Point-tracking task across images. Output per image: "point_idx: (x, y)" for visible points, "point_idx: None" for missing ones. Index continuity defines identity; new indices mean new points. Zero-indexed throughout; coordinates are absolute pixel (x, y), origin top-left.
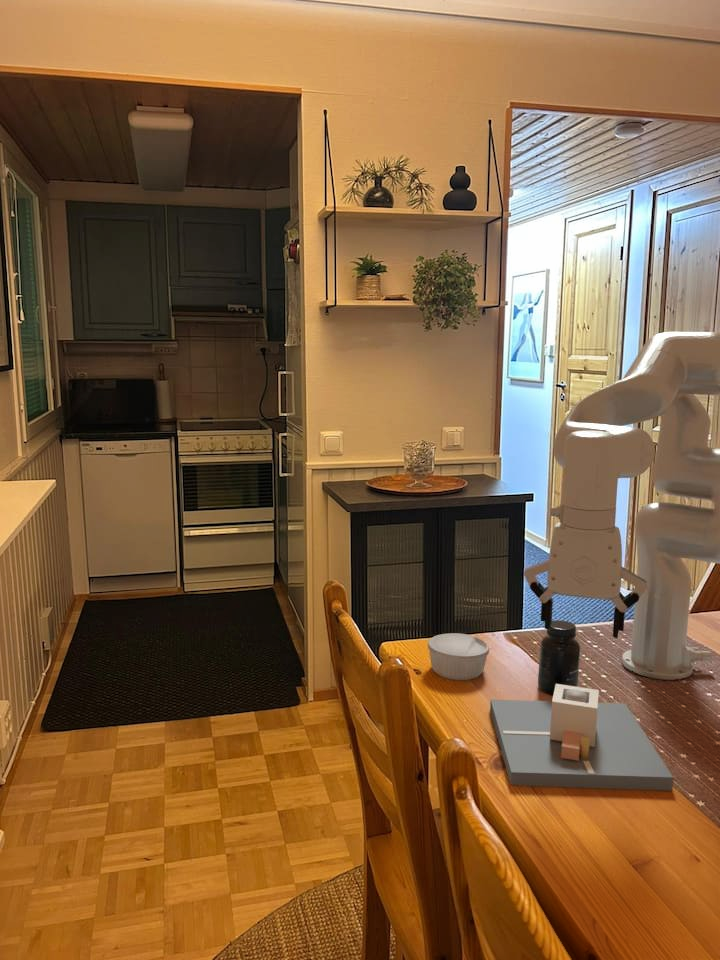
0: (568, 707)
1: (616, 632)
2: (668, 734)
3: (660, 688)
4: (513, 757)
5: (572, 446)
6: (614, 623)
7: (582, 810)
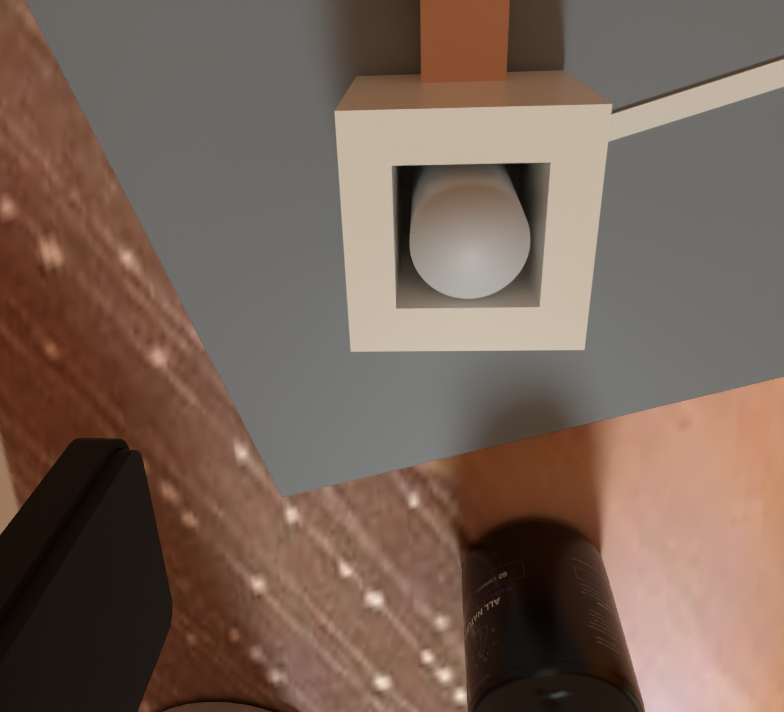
0: (505, 101)
1: (66, 473)
2: (126, 385)
3: (202, 655)
4: None
5: None
6: (47, 566)
7: None
